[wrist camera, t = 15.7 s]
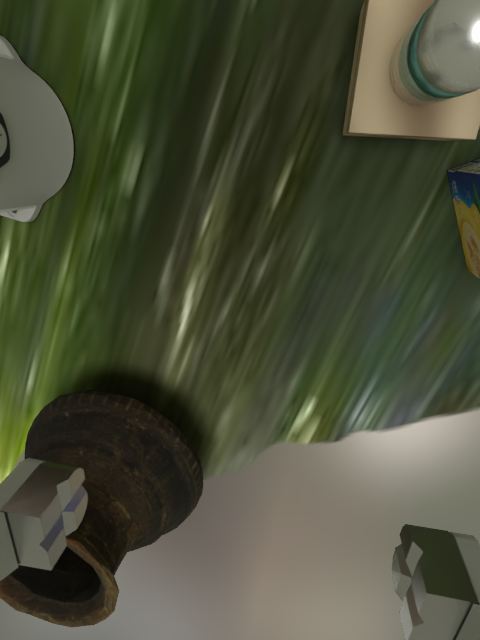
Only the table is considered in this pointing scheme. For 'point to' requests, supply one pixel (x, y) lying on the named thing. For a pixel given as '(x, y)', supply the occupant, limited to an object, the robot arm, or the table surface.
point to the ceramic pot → (105, 499)
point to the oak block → (377, 92)
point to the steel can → (439, 54)
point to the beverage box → (468, 210)
